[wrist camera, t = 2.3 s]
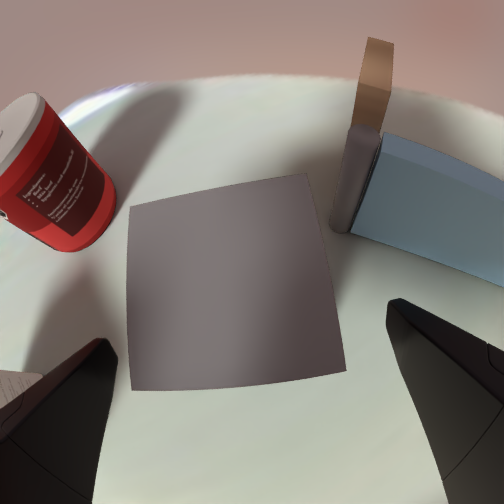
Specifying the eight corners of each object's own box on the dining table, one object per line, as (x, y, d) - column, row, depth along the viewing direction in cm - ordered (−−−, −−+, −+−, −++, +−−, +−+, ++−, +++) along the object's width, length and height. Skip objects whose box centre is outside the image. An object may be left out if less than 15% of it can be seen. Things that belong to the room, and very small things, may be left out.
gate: (326, 229, 19) (345, 142, 11) (332, 211, 19) (351, 120, 11) (506, 292, 15) (583, 252, 7) (507, 274, 16) (580, 228, 8)
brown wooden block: (354, 207, 19) (390, 91, 10) (334, 201, 19) (358, 82, 10) (366, 155, 20) (394, 43, 11) (348, 149, 21) (368, 36, 11)
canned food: (50, 197, 23) (-23, 132, 13) (116, 161, 23) (50, 72, 13) (49, 269, 21) (-50, 213, 10) (124, 234, 21) (26, 144, 10)
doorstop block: (311, 363, 16) (346, 370, 6) (226, 374, 16) (131, 390, 6) (298, 280, 18) (306, 173, 8) (217, 293, 18) (130, 206, 8)
